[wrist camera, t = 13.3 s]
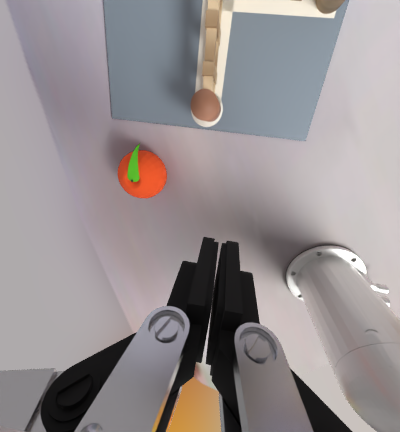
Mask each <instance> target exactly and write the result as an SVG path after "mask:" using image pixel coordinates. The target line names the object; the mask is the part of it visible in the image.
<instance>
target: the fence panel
mask: <svg viewBox="0 0 400 432" xmlns="http://www.w3.org/2000/svg"><path fill="white" fill-rule="evenodd" d="M222 3H223V0H208V10H206V18H205V28H206V44H205V60H204V61H203V69H202V76H203V89H200V90H198V91H197V92H196V93H195V94H194V95H193V97H192V99H191V111H192V113H193V115H194V116H195V117H196V118H197V119H199V120H203V121H207V122H212V121H215V120H216V119H217V118H218V117H219V115H220V112H221V106H220V103H219V101H218V99H217V97H216V95H215V86H216V83H217V62H218V51H219V45H220V37H221V29H220V27H221V15H222Z"/></svg>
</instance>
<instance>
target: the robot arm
mask: <svg viewBox="0 0 400 432" xmlns="http://www.w3.org/2000/svg"><path fill="white" fill-rule="evenodd" d="M214 240H215V239H213V238H207V237H204V238H203V241H202V245H201V249H200V253H199V257H198V261H197V263H193V262H188V261H183V262H182V264H181V267H180V270H179V273H178V276H177V278H176V281H175V284H174V287H173V289H172V292H171V295H170V298H169V300H168V303H167V306H163V307H160V308H157V309H155V310H154V311H152V312H151V313H150V314H149V315H148V316H147V318H146V319H145V321H144V322H143V324H142V325H141V327H140V328H139V330H138V332H136V333H134V334H132V335H130V336H129V337H127V338H125V339H123V340H121V341H119V342H117V343H115V344H113V345H111V346H109V347H108V348H106V349H104V350H102V351H100V352H98V353H96V354H94V355H93V356H91V357H89V358H87V359H85V360H83V361H81V362H79V363H77V364H75V365H74V366H72V367H70V368H69V369H67V370H66V371H59V372H56V369H55V368H51V369H30V370H9V371H0V432H168V430H169V426H170V423H171V420H172V417H173V414H174V411H175V408H176V405H177V402H178V399H179V395H180V392H181V389H182V385H184V384H185V383H186V382H187V381H189V380H190V379H191V378H192V377H194V370H195V364H196V362H199V363H201V362H202V357H203V351H204V346H205V340H206V335H207V329H208V324H209V319H210V313H211V319H210V328H209V338H208V347H207V356H206V364H208V365H211V371H210V375H212V382H213V383H214V385H215V387H216V388H217V390H218V391H219V405H220V420H221V432H352V431H351V430H350V429H349V428H348V427H347V426H346V425H345V424H344V423H343V422H342V421H341V420H340V419H339V418H338V417H337V416H336V415H335V414H334V413H333V412H332V411H331V409H330V408H328V406H327V405H326V404H325V403H324V402H323V401H322V400H321V399H320V398H319V397H318V396H317V395H316V394H315V393H314V392H313V391H312V390H311V389H310V388H309V387H308V386H307V385H306V384H305V383H304V382H303V381H302V380H301V379H300V378H299V377H298V376H297V375H296V374H295V373H294V372H293V371H292V370H291V369H290V367H289V364H288V362H287V359H286V356H285V354H284V351H283V348H282V346H281V344H280V342H279V340H278V338H277V337H276V336H275V335H274V333H273V332H272V331H270V330H269V329H268V328H267V327H265V326H263V325H261V324H260V322H259V315H258V309H257V302H256V295H255V288H254V281H253V275H252V273H250V272H244V271H240V260H239V244H238V242H232V241H227V242H226V244H225V243H222V246H221V251H220V257H219V262H218V268H217V273H216V279H215V271H216V262H217V253H218V243H219V242H214ZM366 275H367V271H366V267H365V265H364V263H363V261H362V260H361V259H360V258H359V257H358V256H357V255H356V254H355V253H354V252H352V251H350V250H348V249H346V248H343V247H339V246H319V247H315V248H312V249H309V250H307V251H305V252H303V253H301V254H300V255H298V256H297V257H296V258H295V259H294V260H293V261H292V262H291V264H290V265H289V267H288V269H287V273H286V281H287V284H288V287H289V289H290V291H291V292H292V294H293V295H294V296H295V297H297V298H298V299H300V300H302V301H303V302H304V303H305V305H306V307H307V310H308V312H309V314H310V317H311V319H312V322H313V324H314V326H315V329H316V331H317V334H318V336H319V338H320V341H321V343H322V346H323V348H324V350H325V353H326V355H327V358H328V360H329V362H330V365H331V367H332V369H333V372H334V374H335V377H336V379H337V382H338V384H339V386H340V389H341V391H342V393H343V395H344V396H345V398H346V400H347V401H348V403H349V404H350V406H351V407H352V408H353V410H355V412H356V413H357V414H358V415H359V416H360V417H361V418H362V419H363V420H364V421H365V422H366V423H367V424H368V425H370V426H371V427H372V428H373V429H374V430H376V431H377V432H400V319H399V318H398V316H397V315H396V314H395V313H394V312H393V311H392V310H391V308H390V300H389V299H388V298H387V297H386V296H381V295H378V294H377V293H382V294H387V293H388V291H389V289H388V287H387V286H386V285H381V284H373V283H372V282H371V281H370V280H369V279H368V277H367V276H366ZM214 280H215V285H214ZM213 290H214V291H213ZM212 299H213V300H212ZM211 307H212V310H211Z"/></svg>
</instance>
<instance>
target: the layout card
mask: <svg viewBox="0 0 400 432" xmlns="http://www.w3.org/2000/svg"><path fill="white" fill-rule="evenodd" d="M103 1H104V15H105V28H106V42H107V55H108V69H109V82H110V96H111V109H112V118H114V119H123V120H131V121H140V122H148V123H156V124H165V125H173V126H182V127H190V128H198V129H207V130H215V131H224V132H232V133H241V134H249V135H257V136H266V137H274V138H283V139H291V140H299V141H306V138H307V134H308V131H309V128H310V125H311V121H312V118H313V115H314V112H315V109H316V105H317V102H318V99H319V96H320V92H321V89H322V86H323V83H324V80H325V76H326V73H327V70H328V67H329V64H330V60H331V57H332V54H333V51H334V47H335V44H336V41H337V38H338V35H339V31H340V28H341V25H342V22H343V18H344V15H345V12H346V9H347V6H348V2H349V0H345V1H344V3H343V4H342V5H341V6H340V7H339V8H338V9H337V10H336V11H334V12H332V13H330V14H323V13H321V12H320V11H319V10H318V9H317V6H316V0H302V1H295V0H223V3H222V15H221V27H220V29H221V37H220V45H219V51H218V62H217V83H216V86H215V95H216V97H217V99H218V101H219V103H220V106H221V112H220V115H219V117H218V118H217V119H216V120H215V121H212V122H207V121H203V120H199V119H197V118H196V117H195V116H194V115H193V113H192V111H191V99H192V97H193V95H194V94H195V93H196V92H197V91H198V90H200V89H203V76H202V69H203V61H204V60H205V44H206V28H205V18H206V10H208V0H103Z"/></svg>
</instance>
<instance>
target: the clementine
mask: <svg viewBox="0 0 400 432" xmlns="http://www.w3.org/2000/svg"><path fill="white" fill-rule="evenodd" d="M139 145H140V144H139ZM139 145H138V146H137V147H136V148H135V150H134V151H133V152H130V153H129V154H127V155H126V156H124V158H123V159H122V160H121V162H120V165H119V167H118V179H119V182H120V184H121V186H122V187H123V189H124V190H125V191H126V192H127V193H129V194H130V195H132V196H134V197H138V198H149V197H153V196H155V195H156V194H158V193H159V192H160V191H161V190H162V189H163V187H164V185H165V183H166V179H167V172H166V168H165V165H164V164H163V162H162V160H161V159H160V158H159V157H158V156H157V155H155V154H153V153H152V152H149V151H145V150H138V148H139Z"/></svg>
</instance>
